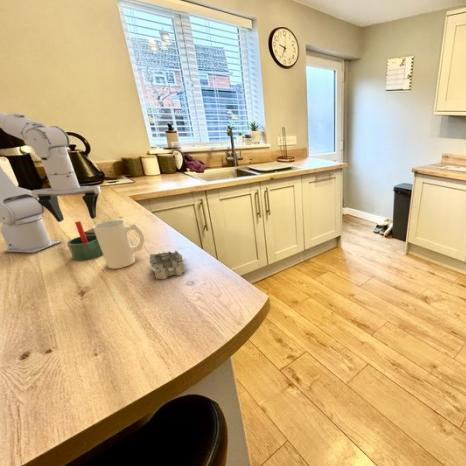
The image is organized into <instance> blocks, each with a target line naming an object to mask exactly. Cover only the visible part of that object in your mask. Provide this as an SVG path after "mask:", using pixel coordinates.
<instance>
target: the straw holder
mask: <svg viewBox="0 0 466 466" xmlns="http://www.w3.org/2000/svg"><path fill="white" fill-rule="evenodd" d="M84 232H85V235H96V234H95V232H94V229H93V228H91V229H88V230H84Z"/></svg>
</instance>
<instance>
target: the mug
mask: <svg viewBox="0 0 466 466" xmlns="http://www.w3.org/2000/svg"><path fill="white" fill-rule="evenodd" d="M92 229H94V232H95V234H96V237H97V240H98V242H99V245H100V247H101V250H102V253H103V255H102V256H103V258H104V260H105V263H106V266H107V267H108V268H109V269H115V270H116V269H122V268H126V267H129V266H131V265H132V264H134V263H135V262H136V259H135V254H134V253H136V252H139V251H142V250H143V247H144V242H145V235H144V233H143V231H142V229H141V228H140V227H139V226H138V225H137V224H136V223H131V224H129V225H126V221H125V220H123V219H111V220H106V221H105V220H104V221H101V222H98V223H95V224H93V226H92ZM130 231H135V232H136V233H137V234H138V236H139V241H138V243H137V245H133V246H132V244H131V240H130V236H129V232H130Z"/></svg>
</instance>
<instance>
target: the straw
mask: <svg viewBox="0 0 466 466" xmlns="http://www.w3.org/2000/svg"><path fill="white" fill-rule="evenodd" d="M74 225H75V226H76V229H77V233H78V235H79V237H81V240H82V243H87V242H88V241H87V238H86V235H85V230H84V227H83V224H82V222H81V221H79V220H78V221H75V222H74Z"/></svg>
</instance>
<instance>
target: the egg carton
mask: <svg viewBox="0 0 466 466" xmlns="http://www.w3.org/2000/svg"><path fill="white" fill-rule="evenodd" d="M185 267H186V266H185V264H184V261H183V255H182V254H181V253H179V251H178V250H174V252H171V251H167V252H158V253H154V254H153V253H150V254H149V268H150V269H151V270H152V271H153V272H154V275H155V279H157V280H159V279H160V280H165V279H168V277H170V276H174V275H175V276H180V275H183V273H185V272H186V268H185Z"/></svg>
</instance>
